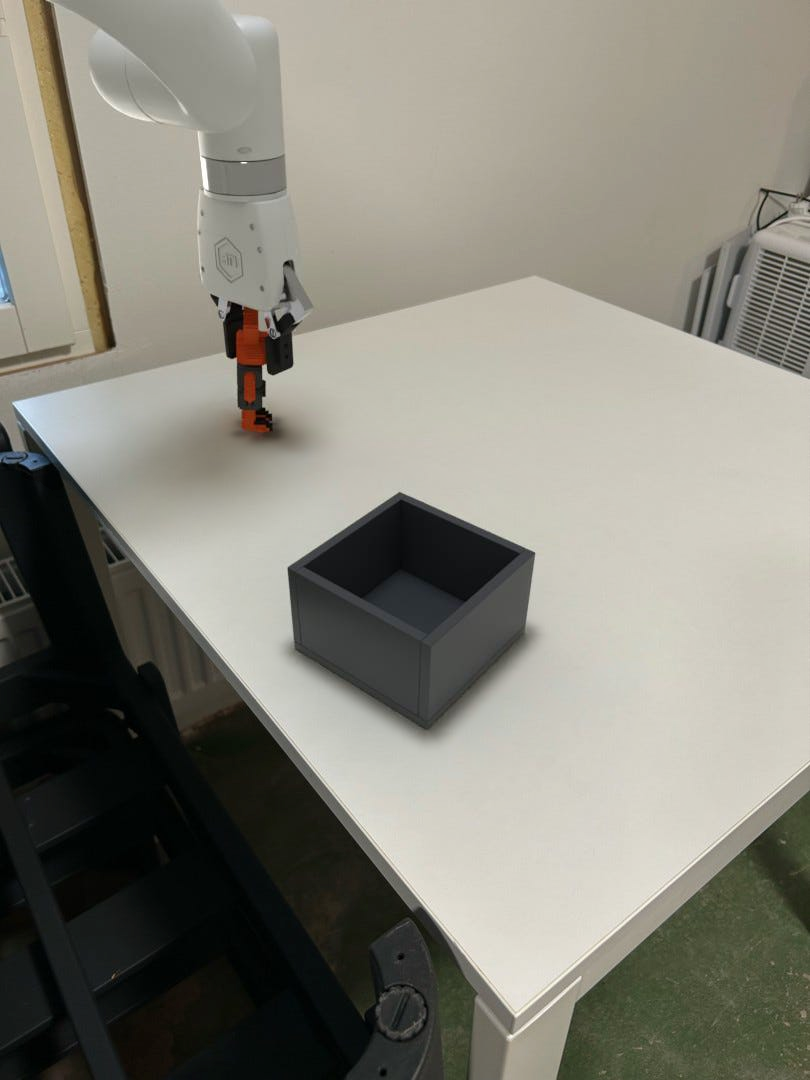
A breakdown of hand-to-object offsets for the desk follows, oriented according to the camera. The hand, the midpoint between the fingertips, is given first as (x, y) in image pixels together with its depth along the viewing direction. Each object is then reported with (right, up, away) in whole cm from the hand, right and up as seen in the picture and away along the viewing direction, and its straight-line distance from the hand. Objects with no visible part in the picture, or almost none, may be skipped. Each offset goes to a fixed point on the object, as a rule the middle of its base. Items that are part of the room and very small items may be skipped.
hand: (259, 361), depth 85 cm
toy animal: (0, -6, +4) cm, 7 cm away
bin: (+15, -26, -22) cm, 38 cm away
